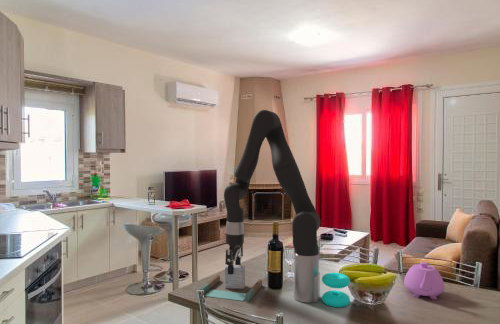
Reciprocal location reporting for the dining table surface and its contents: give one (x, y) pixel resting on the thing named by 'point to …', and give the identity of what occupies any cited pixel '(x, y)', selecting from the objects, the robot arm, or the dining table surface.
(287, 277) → the dining table surface
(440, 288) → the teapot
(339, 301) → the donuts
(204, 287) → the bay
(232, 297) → the front pad
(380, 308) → the dining table surface
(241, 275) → the medicine box
